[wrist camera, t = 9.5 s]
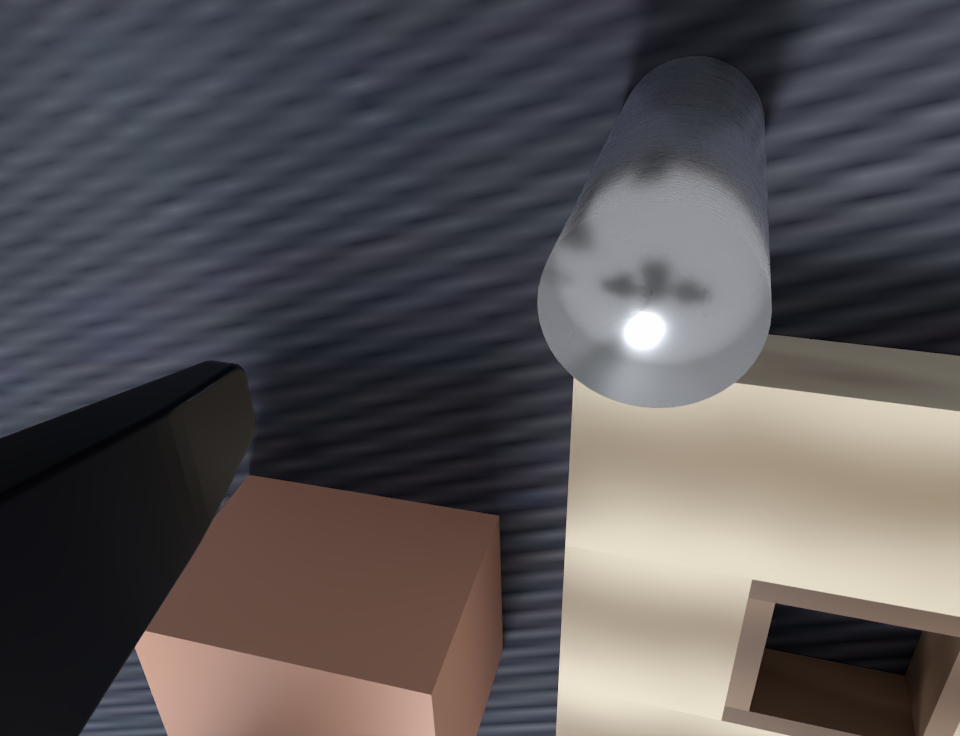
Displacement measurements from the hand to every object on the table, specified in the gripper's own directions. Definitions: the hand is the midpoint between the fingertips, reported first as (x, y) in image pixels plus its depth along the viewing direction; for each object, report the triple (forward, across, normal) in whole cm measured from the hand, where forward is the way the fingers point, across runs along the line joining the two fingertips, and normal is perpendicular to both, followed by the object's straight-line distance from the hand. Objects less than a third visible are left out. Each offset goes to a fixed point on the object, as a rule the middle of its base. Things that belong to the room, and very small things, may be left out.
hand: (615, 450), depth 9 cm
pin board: (+12, -6, +14) cm, 19 cm away
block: (+12, +9, +16) cm, 22 cm away
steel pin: (+12, 0, 0) cm, 12 cm away
